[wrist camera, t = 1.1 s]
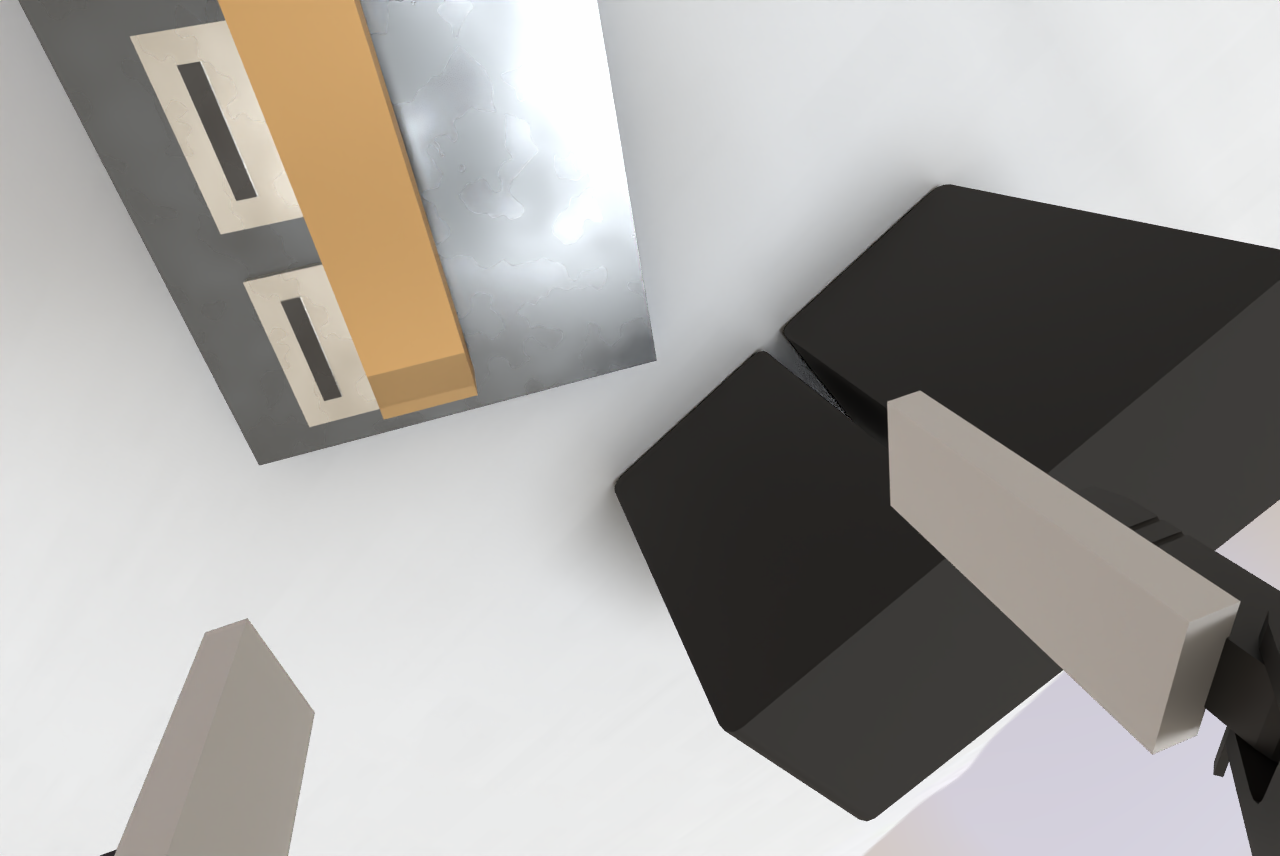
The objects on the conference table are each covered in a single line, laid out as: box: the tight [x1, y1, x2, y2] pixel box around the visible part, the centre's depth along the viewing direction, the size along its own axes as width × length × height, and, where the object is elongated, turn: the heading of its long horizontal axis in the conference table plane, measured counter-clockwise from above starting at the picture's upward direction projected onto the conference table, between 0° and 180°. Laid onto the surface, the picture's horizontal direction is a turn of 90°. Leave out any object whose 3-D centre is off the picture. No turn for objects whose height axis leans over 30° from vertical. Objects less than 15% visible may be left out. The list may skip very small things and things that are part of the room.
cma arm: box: [218, 0, 478, 419], centre depth 25 cm, size 20×4×3 cm, turn 11°
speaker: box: [615, 185, 1280, 821], centre depth 34 cm, size 25×11×19 cm, turn 132°
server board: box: [19, 0, 656, 465], centre depth 29 cm, size 24×20×3 cm
